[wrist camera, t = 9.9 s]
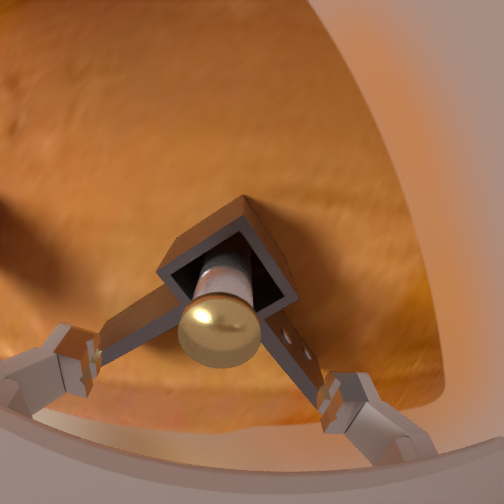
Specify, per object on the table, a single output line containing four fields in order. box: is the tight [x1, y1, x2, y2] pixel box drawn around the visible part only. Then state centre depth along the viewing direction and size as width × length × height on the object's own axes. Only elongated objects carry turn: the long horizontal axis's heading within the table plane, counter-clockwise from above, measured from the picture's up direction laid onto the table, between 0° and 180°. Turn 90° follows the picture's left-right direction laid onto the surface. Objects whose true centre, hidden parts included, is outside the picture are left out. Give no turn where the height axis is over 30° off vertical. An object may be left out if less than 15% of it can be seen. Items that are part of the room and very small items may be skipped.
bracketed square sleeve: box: [98, 195, 325, 410], centre depth 22 cm, size 16×16×6 cm
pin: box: [178, 232, 261, 368], centre depth 18 cm, size 4×4×11 cm
